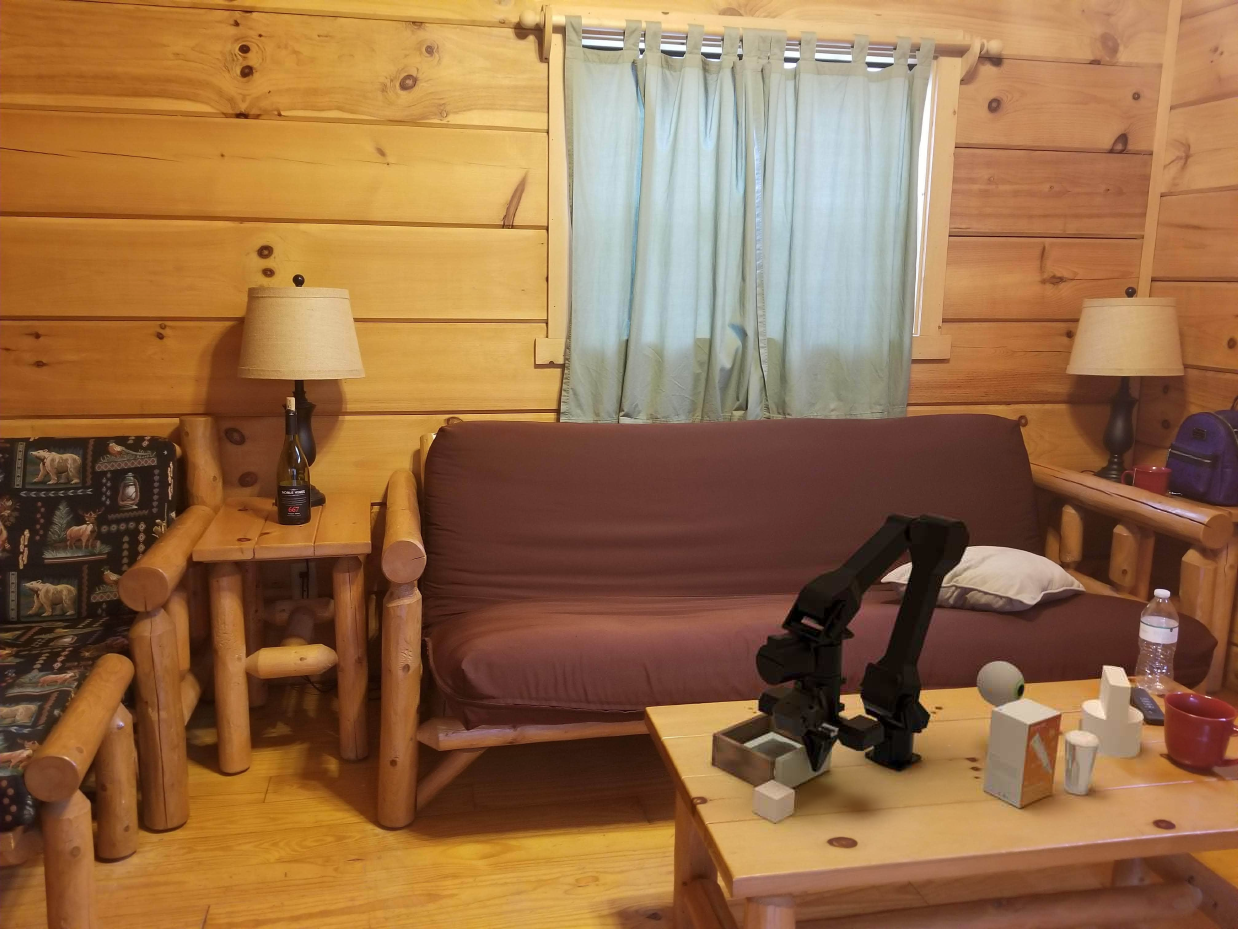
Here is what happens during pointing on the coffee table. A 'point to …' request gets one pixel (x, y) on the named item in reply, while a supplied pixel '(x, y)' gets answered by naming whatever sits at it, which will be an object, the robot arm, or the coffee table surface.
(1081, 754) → the milkshake
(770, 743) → the cylinder
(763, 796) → the block
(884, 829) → the coffee table surface
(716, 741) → the holder
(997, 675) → the eyeball
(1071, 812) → the coffee table surface
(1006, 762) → the small box
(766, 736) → the tray
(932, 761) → the coffee table surface
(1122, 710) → the base with upright slab
